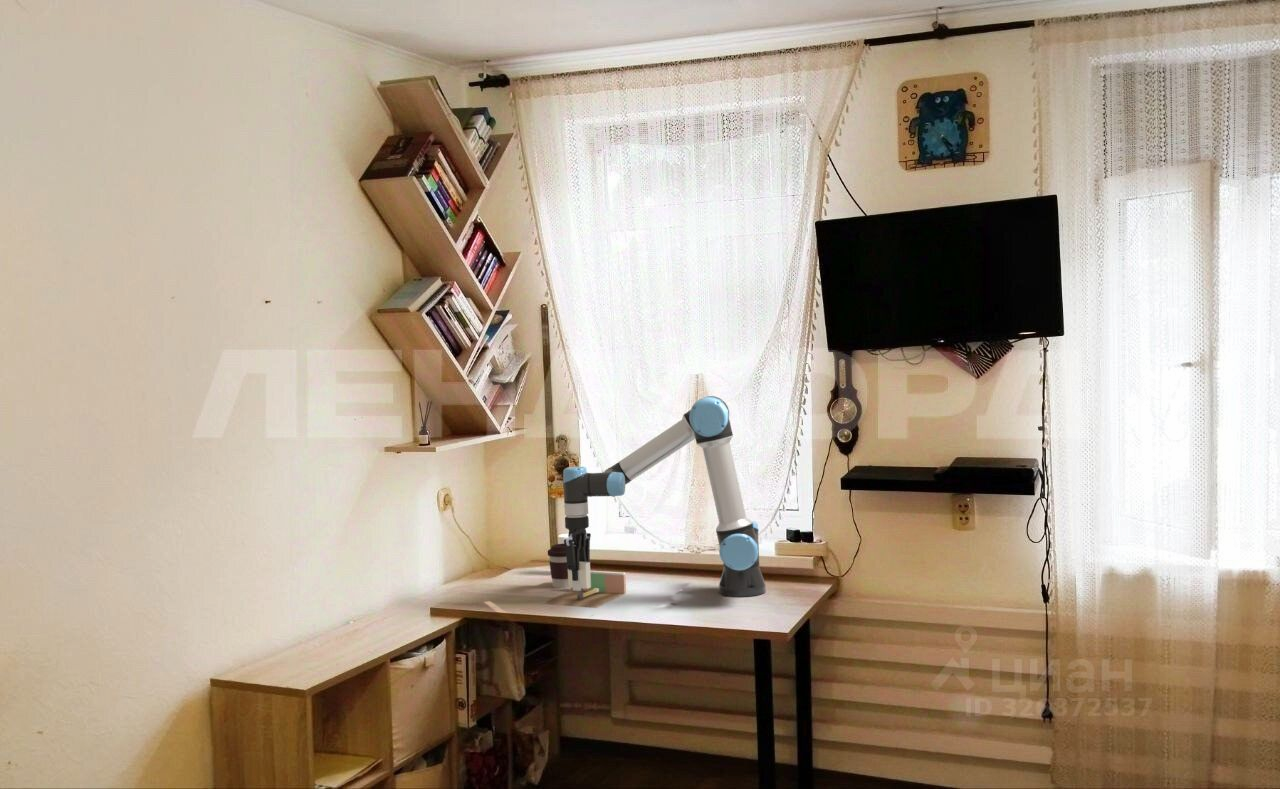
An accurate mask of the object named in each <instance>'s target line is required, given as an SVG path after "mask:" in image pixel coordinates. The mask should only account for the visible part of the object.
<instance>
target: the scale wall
mask: <svg viewBox="0 0 1280 789" xmlns="http://www.w3.org/2000/svg"><path fill="white" fill-rule="evenodd" d="M590 575H591V588H588V589H583V591H591V590H593V589H594V588H599V592H606V593H621V594H623V595H625V594H627V586H626V585H627V583H626V582H627V580H626V572H621V571H620V572H618V571H605V570H604V571H603V570H602V571H600V570H590ZM570 590H573V588H571V587H570Z"/></svg>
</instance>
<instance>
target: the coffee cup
mask: <svg viewBox="0 0 1280 789" xmlns="http://www.w3.org/2000/svg"><path fill="white" fill-rule="evenodd" d="M547 556H548V557H549V568H550V576H551V580H552V587H553V588H555V589H556V588H557V589H566V588H567V589H568V588H570V587H569V586H568V568H567V558H566V548H565V544H559V543H556V544H553V545H551V548H550V549H548V550H547Z"/></svg>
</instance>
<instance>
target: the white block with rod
mask: <svg viewBox="0 0 1280 789" xmlns="http://www.w3.org/2000/svg"><path fill="white" fill-rule="evenodd" d="M579 570H581V591H577V600H579V601H580V600H583V597H586V596H588V595H591V594H593V593H597V592H599V588H594V589H593V590H591V591H588V592H586V593H583V589H588V588H591V575H590V571H591V561H590V562H580V561H579ZM568 586H569V587H568V588H570V589H571V588H573V584H572V570H569V569H568Z"/></svg>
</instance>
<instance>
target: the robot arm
mask: <svg viewBox="0 0 1280 789" xmlns="http://www.w3.org/2000/svg"><path fill="white" fill-rule="evenodd" d="M733 437H734V434H733V430H732V425H731V420H730V409H729V406H728V404H727V403H726V402H725V401H724V400H723V399H721V398H720V397H717V396H714V395H708V396H705V397H702V398H700V399H697V401H695V403H693V404H692V406H691V408H690V409H689V410H688V411H687V412H686V413H684V414H682V419H681V420H679V421H677V422H676V423H674V424H672V425H671V426H670V427H669V428H667V429H665V430H664V431H662V432H661V433H659V434H658V435H657V436H655V437H653V439H651V440H649V441H647V442H646V443H644V444H643V445H641V446H640V447H639V448H636V450H634V451H633V452H631V453H630V454H628V455H627V456H625V457H623V458H622V459H621V460H620V461H618V462H616V463H615V464H613V465H612V466H610V467H608V468H607V469H605V470H604V471H602V472H588V470H587V467H586V466H569V467H566V468H564V469H563V471H562V474H563V476H562V479H563V480H562V485H563V488H562V489H563V502H564V505H563V508H564V515H565V517H564V527H565V529H566V530H568V533H567V534H568V537H569V538H568V539H565V540H564V544H565V548H566V558H567V568H568V569H569V570H572V584H573V590H574V591H581V570H579V561H580V562H590V563H591V560H590V558H591V557H590V554H591V553H590V552H591V547H590V546H591V537H592V536H591V535H592V534H591V533H589V532H587V530H586V529H588V528H589V526H590V523H589V521H590V520H589V516H588V514H589V500H588V498H589V497H613V498H614V497H621V496H623V495H624V494H625V493H626V485H627V484H629V483H631V481H633V480H635V479H636V478H638V477H639V476H641V475H642V474H644V473H646V472H647V471H648V470H650V469H651V468H654V466H656V465H658V464H660V462H662V461H664V460H665V459H667V458H668V457H670V456H671V455H673V454H674V453H676V452H678V450H679V451H680V449H682V448H683V447H685V446H687V445H688V444H689V443H691V442H692V441H694V440H695V442H696V445H697V446H699V447H700V448H701V449H702V452H703V456H704V460H705V465H706V469H707V473H708V480H709V483H710V487H711V491H712V497H713V500H714V501H713V502H714V505H715V510H716V514H717V518H718V524H717V526H716V528H715V532H716V536H717V541H718V545H719V551H718V552H719V557H720V560H721V561H722V562H723V569H722V573H721V577H720V581H719V583H718V584H719V585H718V593H719V594H721V595H722V596H727V597H737V598H738V597H755V596H758V595H759V596H760V595H763V594H764V593H766V591H767V588H766V586H767V584H766V582H765V580H764V576H763V573H762V571H761V570H762V569H761V568H760V567H761V566H760V550H759V549H760V546H759V545H760V544H759V526H758V525H759V524H758V522H756V521H755V520H751V519H750V518H748V517H747V514H746V510H745V507H744V506H745V505H744V502H743V497H742V492H741V489H740V483H739V478H738V475H737V474H738V473H737V471H736V470H737V469H736V466H735V460H734V458H733V457H734V456H733V452H732V447H731V443H730V442H731V440H732V439H733Z"/></svg>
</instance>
